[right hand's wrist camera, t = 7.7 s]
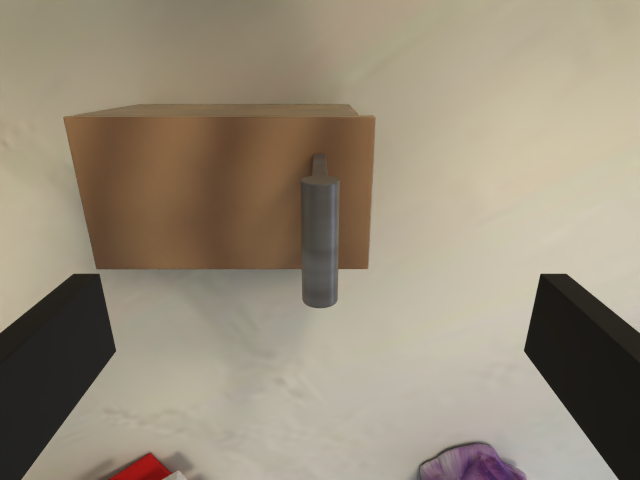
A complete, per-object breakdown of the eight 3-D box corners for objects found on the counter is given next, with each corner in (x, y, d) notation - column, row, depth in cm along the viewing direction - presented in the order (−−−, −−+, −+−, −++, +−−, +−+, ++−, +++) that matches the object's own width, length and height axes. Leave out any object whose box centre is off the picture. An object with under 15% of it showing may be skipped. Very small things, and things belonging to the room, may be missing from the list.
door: (373, 115, 23) (401, 136, 15) (366, 263, 27) (387, 343, 19) (72, 115, 23) (-57, 136, 15) (103, 263, 27) (11, 344, 19)
